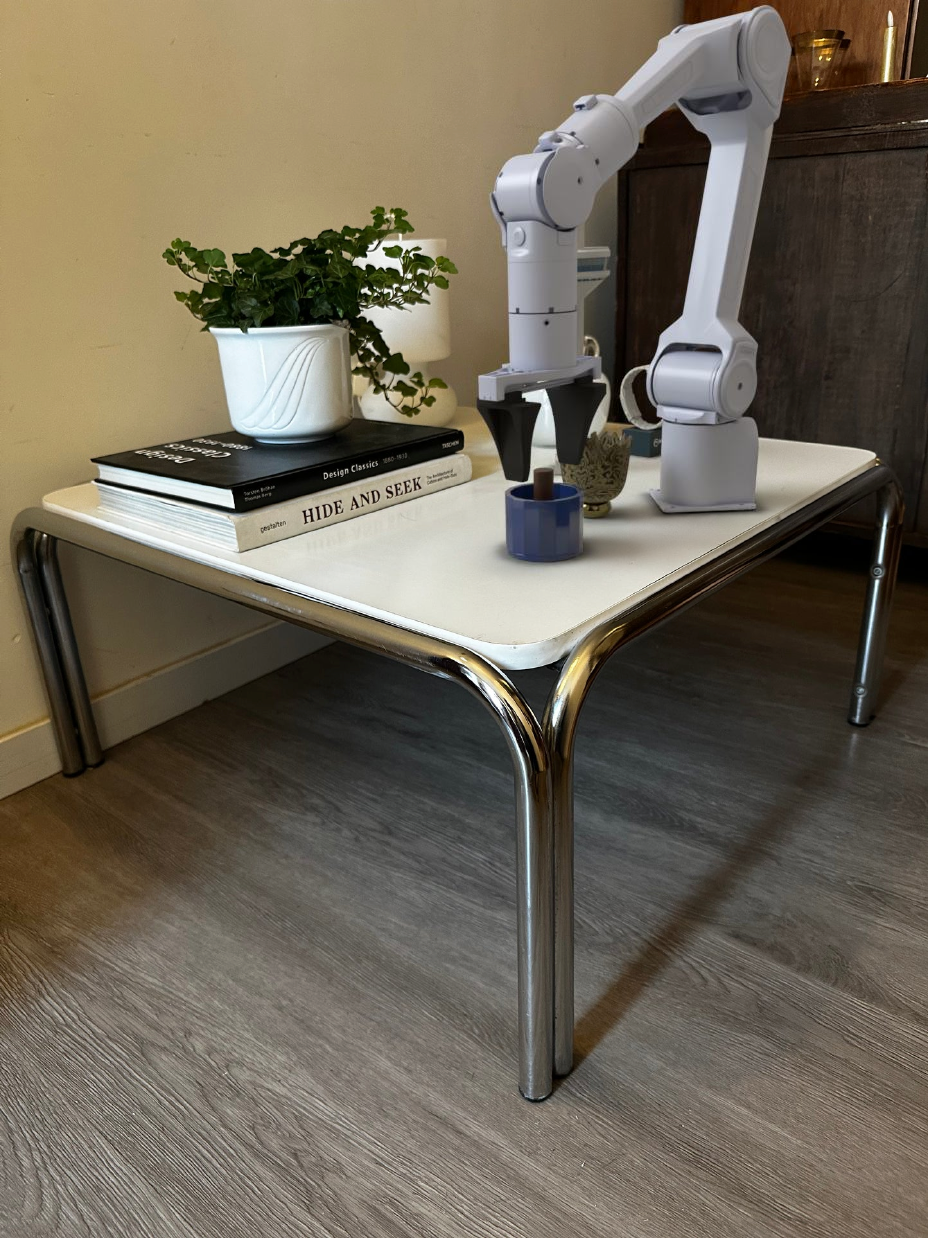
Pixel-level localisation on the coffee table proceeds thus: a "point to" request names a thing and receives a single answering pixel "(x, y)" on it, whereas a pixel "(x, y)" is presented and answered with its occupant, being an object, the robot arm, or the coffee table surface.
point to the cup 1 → (544, 523)
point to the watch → (639, 421)
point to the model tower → (586, 285)
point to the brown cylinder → (543, 484)
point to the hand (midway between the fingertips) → (543, 471)
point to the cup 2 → (600, 472)
